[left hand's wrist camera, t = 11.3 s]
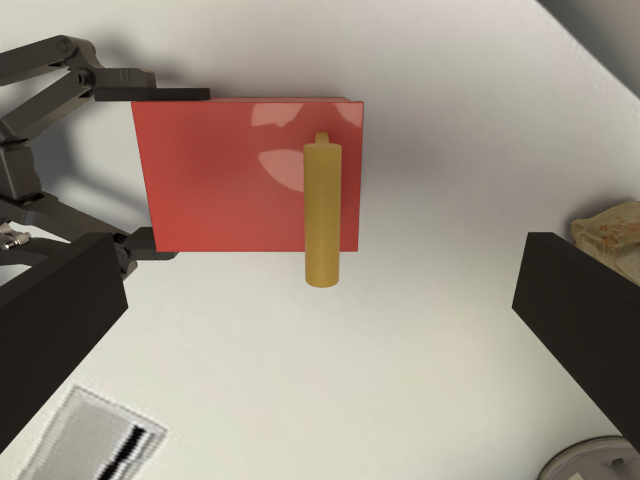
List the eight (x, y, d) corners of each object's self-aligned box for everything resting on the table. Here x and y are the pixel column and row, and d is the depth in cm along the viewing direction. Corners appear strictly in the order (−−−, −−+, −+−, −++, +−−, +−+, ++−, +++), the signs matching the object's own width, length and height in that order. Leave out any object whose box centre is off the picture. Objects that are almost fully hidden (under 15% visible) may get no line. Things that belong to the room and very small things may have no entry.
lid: (362, 101, 23) (385, 108, 15) (356, 246, 26) (372, 315, 18) (137, 101, 23) (39, 108, 15) (162, 246, 26) (93, 315, 18)
